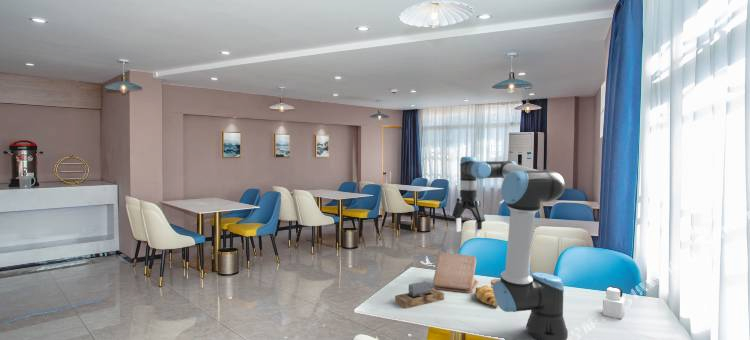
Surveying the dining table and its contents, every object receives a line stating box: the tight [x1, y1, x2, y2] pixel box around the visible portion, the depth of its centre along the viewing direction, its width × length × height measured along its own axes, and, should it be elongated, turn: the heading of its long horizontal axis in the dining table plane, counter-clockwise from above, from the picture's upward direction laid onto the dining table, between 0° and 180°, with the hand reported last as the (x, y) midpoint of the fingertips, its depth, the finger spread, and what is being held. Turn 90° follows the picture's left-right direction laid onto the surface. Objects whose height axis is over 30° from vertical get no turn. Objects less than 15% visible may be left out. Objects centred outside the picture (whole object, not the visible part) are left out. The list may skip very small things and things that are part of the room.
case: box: [432, 252, 479, 294], centre depth 230 cm, size 20×21×16 cm
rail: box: [394, 287, 445, 309], centre depth 208 cm, size 22×9×3 cm, turn 120°
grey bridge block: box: [408, 280, 431, 298], centre depth 208 cm, size 10×4×8 cm, turn 120°
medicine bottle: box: [602, 285, 626, 320], centre depth 189 cm, size 7×7×12 cm
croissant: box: [474, 285, 499, 307], centre depth 207 cm, size 21×10×8 cm, turn 13°
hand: (468, 233), depth 208 cm, fingers open, 13 cm apart
